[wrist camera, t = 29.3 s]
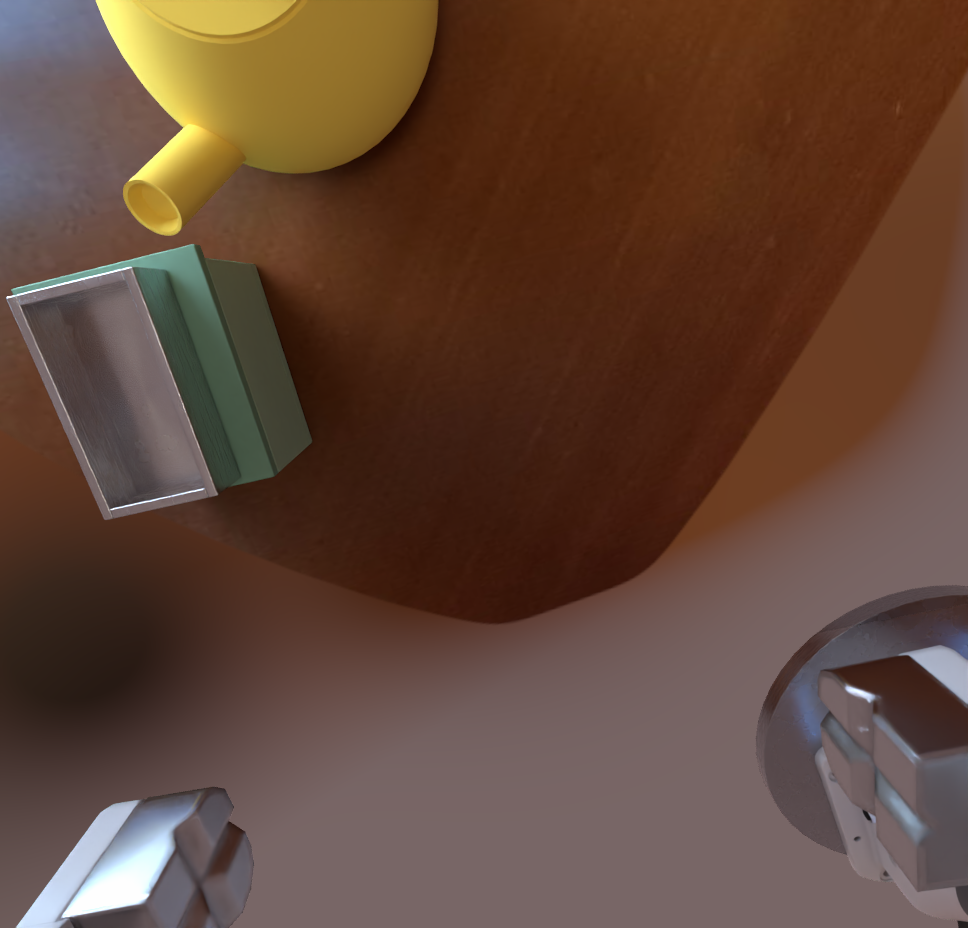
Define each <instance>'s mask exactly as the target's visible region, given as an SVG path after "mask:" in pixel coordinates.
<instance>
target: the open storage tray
mask: <svg viewBox="0 0 968 928" xmlns="http://www.w3.org/2000/svg"><path fill="white" fill-rule="evenodd" d="M6 299H7V301H8V303H9V306H10V308H11V310H12V312H13V315H14V317H15V319H16V321H17V324H18V326H19V328H20V330H21V333H22V335H23V337H24V340H25V342H26V344H27V346H28V349H29V351H30V353H31V355H32V358H33V360H34V362H35V364H36V367H37V369H38V371H39V373H40V376H41V378H42V380H43V382H44V385H45V387H46V389H47V391H48V394H49V396H50V398H51V400H52V403H53V405H54V407H55V409H56V412H57V414H58V416H59V418H60V421H61V423H62V425H63V427H64V430H65V432H66V434H67V436H68V439H69V441H70V443H71V446H72V448H73V450H74V452H75V455H76V457H77V459H78V461H79V464H80V466H81V468H82V470H83V473H84V475H85V477H86V479H87V482H88V484H89V486H90V488H91V491H92V492H93V495H94V497H95V500H96V502H97V504H98V506H99V509H100V511H101V513H102V515H103V518H104V520H108V519H112V518H117V517H122V516H126V515H131V514H135V513H140V512H144V511H149V510H154V509H158V508H163V507H167V506H172V505H176V504H181V503H185V502H190V501H195V500H199V499H204V498H208V497H213V496H217V495H219V494H220V493H221V492H223V491H224V490H225V489H227V488H228V487H229V486H230V485H232V484H233V483H234V482H236V481H237V480H238V479H240V478H241V474H240V471H239V468H238V466H237V463H236V460H235V457H234V455H233V452H232V449H231V446H230V443H229V441H228V438H227V435H226V432H225V430H224V427H223V424H222V421H221V419H220V416H219V413H218V410H217V408H216V405H215V402H214V399H213V396H212V394H211V391H210V388H209V385H208V383H207V380H206V377H205V374H204V372H203V369H202V366H201V363H200V361H199V358H198V355H197V352H196V350H195V347H194V344H193V341H192V338H191V336H190V333H189V330H188V327H187V325H186V322H185V319H184V316H183V314H182V311H181V308H180V305H179V303H178V300H177V297H176V294H175V292H174V289H173V286H172V283H171V280H170V278H169V275H168V272H167V270H166V269H154V268H142V267H127V268H123V269H119V270H115V271H111V272H107V273H103V274H99V275H95V276H91V277H87V278H83V279H79V280H74V281H70V282H66V283H62V284H58V285H54V286H50V287H46V288H42V289H38V290H34V291H30V292H26V293H21V294H18V295H13V296H9V297H7V298H6Z"/></svg>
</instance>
